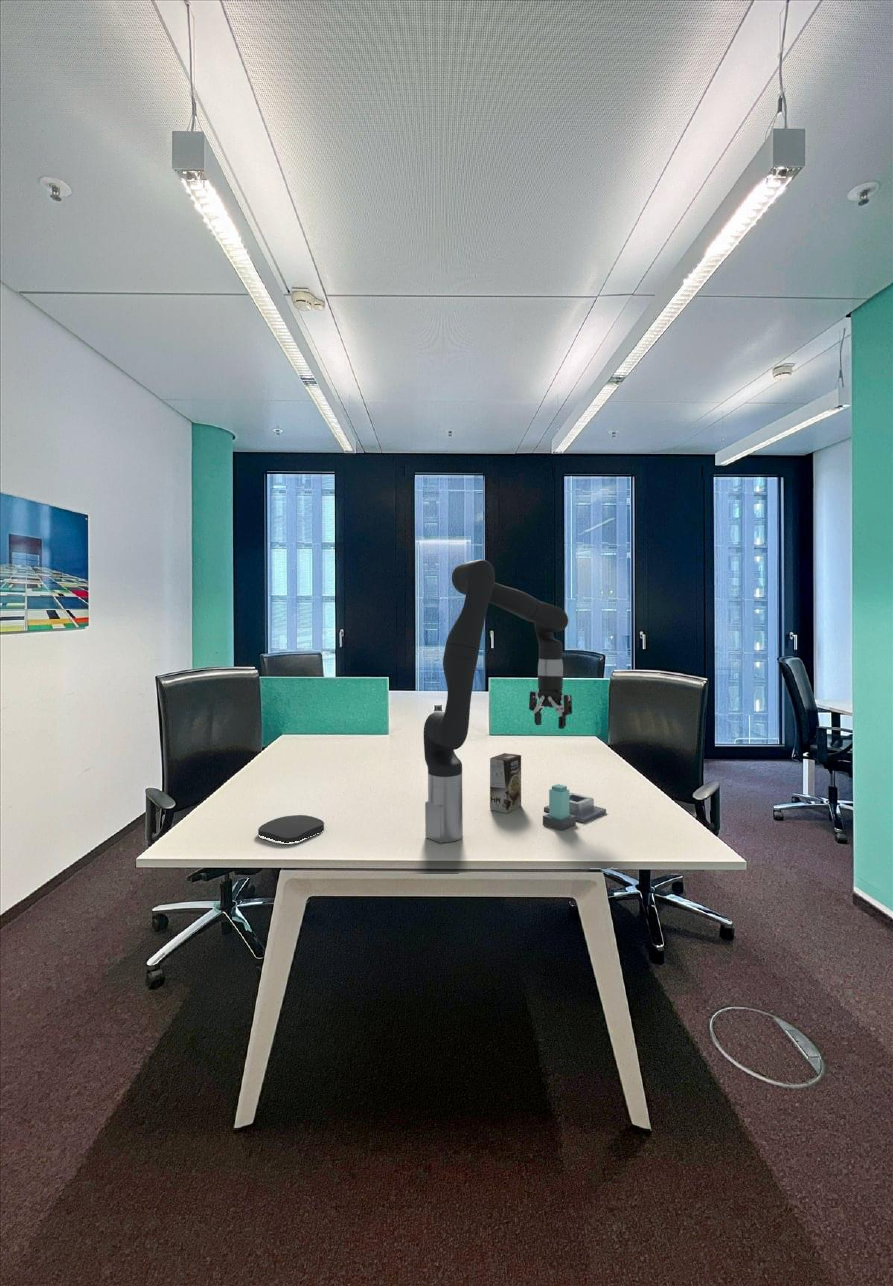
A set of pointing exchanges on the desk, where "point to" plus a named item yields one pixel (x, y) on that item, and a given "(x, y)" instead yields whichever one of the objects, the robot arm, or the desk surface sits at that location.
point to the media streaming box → (291, 828)
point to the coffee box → (505, 782)
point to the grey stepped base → (582, 808)
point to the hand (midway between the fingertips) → (549, 726)
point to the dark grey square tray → (559, 822)
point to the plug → (559, 802)
